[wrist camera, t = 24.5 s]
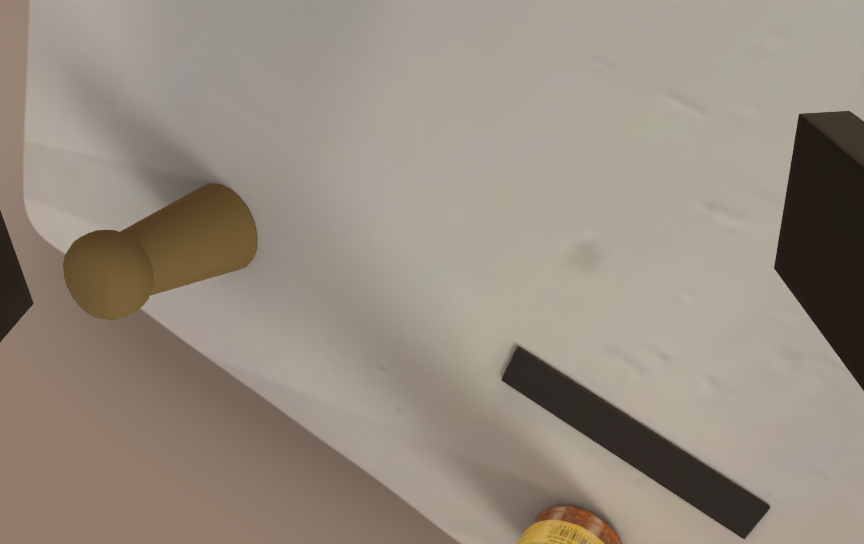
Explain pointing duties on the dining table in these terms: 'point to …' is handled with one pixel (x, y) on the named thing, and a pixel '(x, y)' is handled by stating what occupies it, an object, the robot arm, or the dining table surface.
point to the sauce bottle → (568, 528)
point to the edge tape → (635, 444)
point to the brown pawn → (160, 252)
